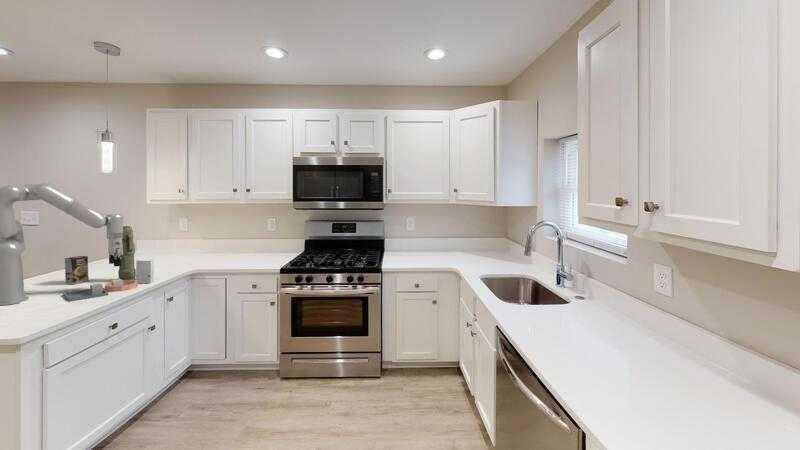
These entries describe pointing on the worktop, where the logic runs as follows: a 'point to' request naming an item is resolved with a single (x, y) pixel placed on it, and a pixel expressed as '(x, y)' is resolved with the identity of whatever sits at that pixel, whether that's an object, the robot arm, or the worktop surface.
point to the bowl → (126, 286)
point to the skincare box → (145, 271)
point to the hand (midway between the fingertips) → (115, 264)
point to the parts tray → (82, 295)
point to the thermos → (127, 256)
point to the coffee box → (76, 270)
